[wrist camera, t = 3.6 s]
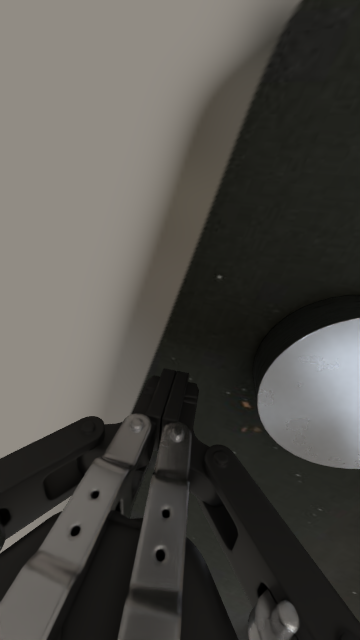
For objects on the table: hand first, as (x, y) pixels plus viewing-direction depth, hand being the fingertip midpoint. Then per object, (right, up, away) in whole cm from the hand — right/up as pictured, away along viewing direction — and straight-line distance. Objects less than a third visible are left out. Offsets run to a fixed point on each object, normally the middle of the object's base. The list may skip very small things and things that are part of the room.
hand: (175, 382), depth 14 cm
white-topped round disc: (+11, 0, +2) cm, 11 cm away
